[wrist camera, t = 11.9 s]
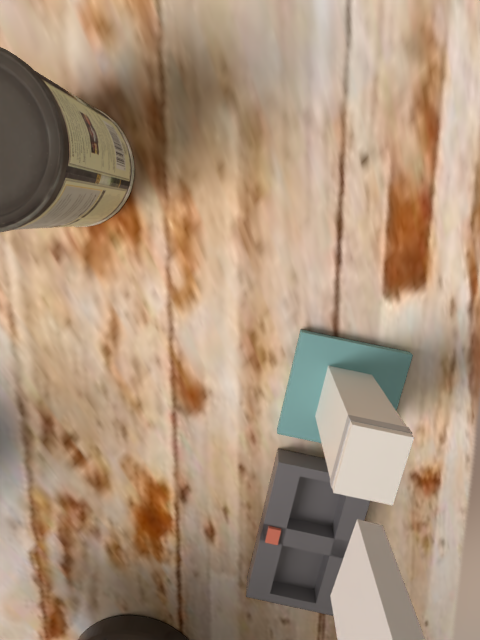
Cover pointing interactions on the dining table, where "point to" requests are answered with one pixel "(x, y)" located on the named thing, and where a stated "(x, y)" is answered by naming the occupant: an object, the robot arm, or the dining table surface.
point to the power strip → (301, 535)
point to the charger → (361, 436)
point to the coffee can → (56, 154)
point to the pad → (311, 372)
